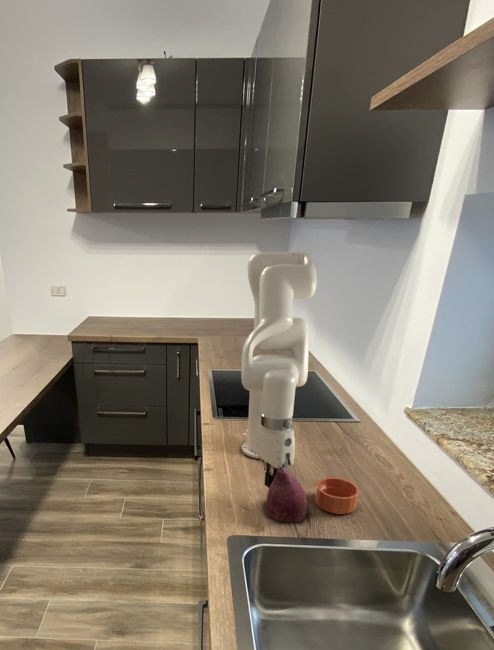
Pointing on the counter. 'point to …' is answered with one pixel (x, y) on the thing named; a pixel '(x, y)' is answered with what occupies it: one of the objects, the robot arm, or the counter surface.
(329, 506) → the bowl
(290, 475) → the vegetable
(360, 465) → the counter surface
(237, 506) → the counter surface
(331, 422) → the counter surface
